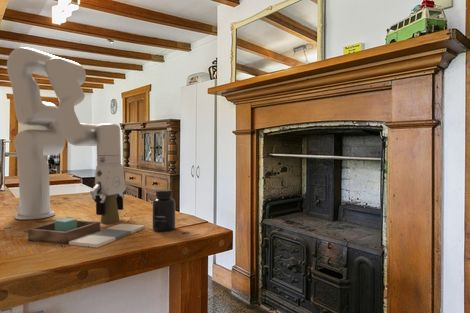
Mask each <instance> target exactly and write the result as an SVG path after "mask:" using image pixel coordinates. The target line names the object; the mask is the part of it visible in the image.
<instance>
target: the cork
mask: <svg viewBox="0 0 470 313" xmlns="http://www.w3.org/2000/svg"><path fill="white" fill-rule="evenodd" d="M117 196H118V194H115V195H110V196H107V195H106V198H105V200H104V202H103V203H105V212H106V214H105V215H100V216H101V217H100V224H105V225H107V224H109V225H110V224H115V223H119V222H120V214H119V210H118V207H117V201H116V198H117Z"/></svg>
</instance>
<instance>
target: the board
mask: <svg viewBox="0 0 470 313" xmlns="http://www.w3.org/2000/svg"><path fill="white" fill-rule="evenodd" d="M145 228H146V225H145V224H144V225H142V224H131V223H119V224H115V225H111V226H109V227H107V228H104V229H100V231H98V232H95V233H92V234H89V235H86V236H83V237H80V238H77V239H75V240H72V241H69V243H68V245H69V246H80V247H88V246H89V248H96V249H97V248H100V247H102V246H104V245H107V244H109V243H113V242H114V241H117V240H119V239H122V238H124V237H126V236H129V235H132V234H134V233H137V232H138V231H141V230H144V229H145Z"/></svg>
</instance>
